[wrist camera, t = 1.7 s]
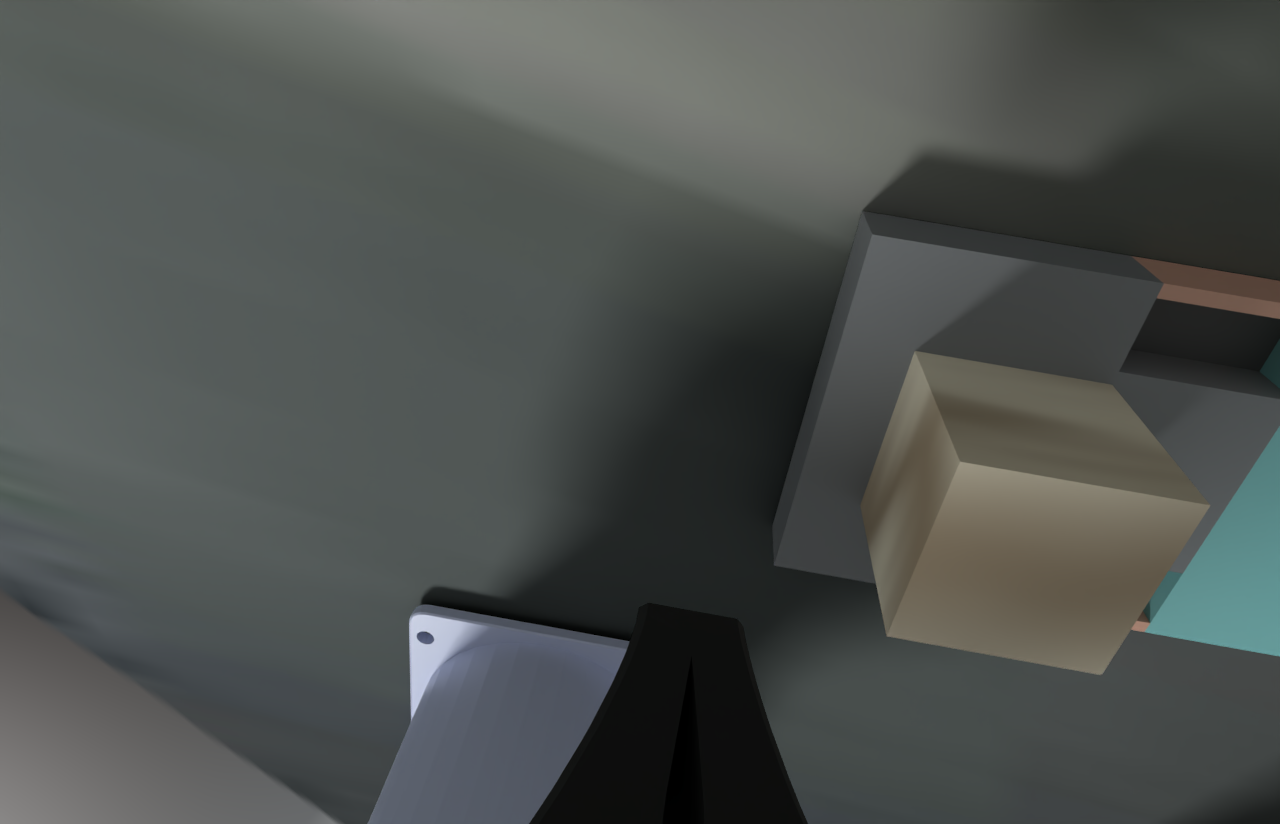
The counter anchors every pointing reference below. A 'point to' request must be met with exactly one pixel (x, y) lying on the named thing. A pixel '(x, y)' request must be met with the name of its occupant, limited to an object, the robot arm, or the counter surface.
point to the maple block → (1021, 514)
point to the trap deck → (1071, 347)
